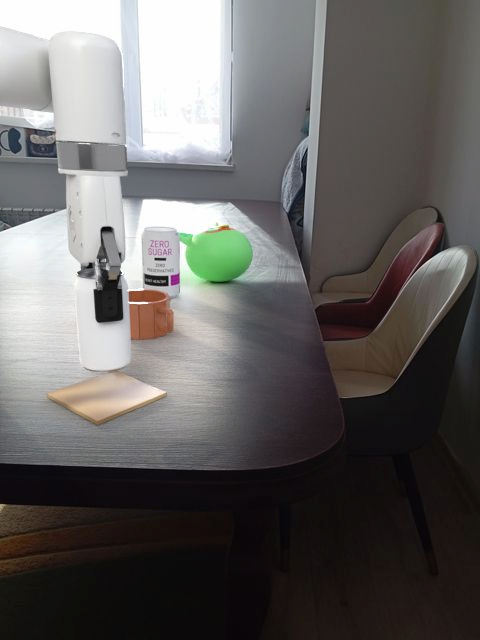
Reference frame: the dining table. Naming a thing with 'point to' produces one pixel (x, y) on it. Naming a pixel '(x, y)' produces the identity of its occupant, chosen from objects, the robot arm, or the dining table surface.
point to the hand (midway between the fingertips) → (102, 311)
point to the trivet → (106, 396)
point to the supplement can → (161, 260)
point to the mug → (150, 314)
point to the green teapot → (217, 252)
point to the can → (100, 328)
